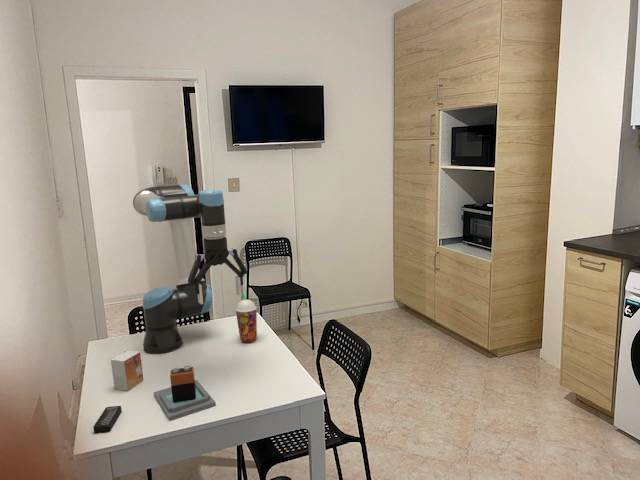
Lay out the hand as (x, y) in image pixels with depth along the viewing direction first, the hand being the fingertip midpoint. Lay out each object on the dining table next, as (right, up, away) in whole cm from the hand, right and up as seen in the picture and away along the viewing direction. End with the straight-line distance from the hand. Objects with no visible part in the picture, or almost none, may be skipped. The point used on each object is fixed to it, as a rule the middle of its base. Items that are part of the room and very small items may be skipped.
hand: (220, 299), depth 162 cm
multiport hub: (-28, -33, -23) cm, 49 cm away
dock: (-9, -30, -13) cm, 34 cm away
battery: (-8, -29, -14) cm, 33 cm away
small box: (-31, -29, -1) cm, 42 cm away
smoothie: (+5, -21, +33) cm, 39 cm away
